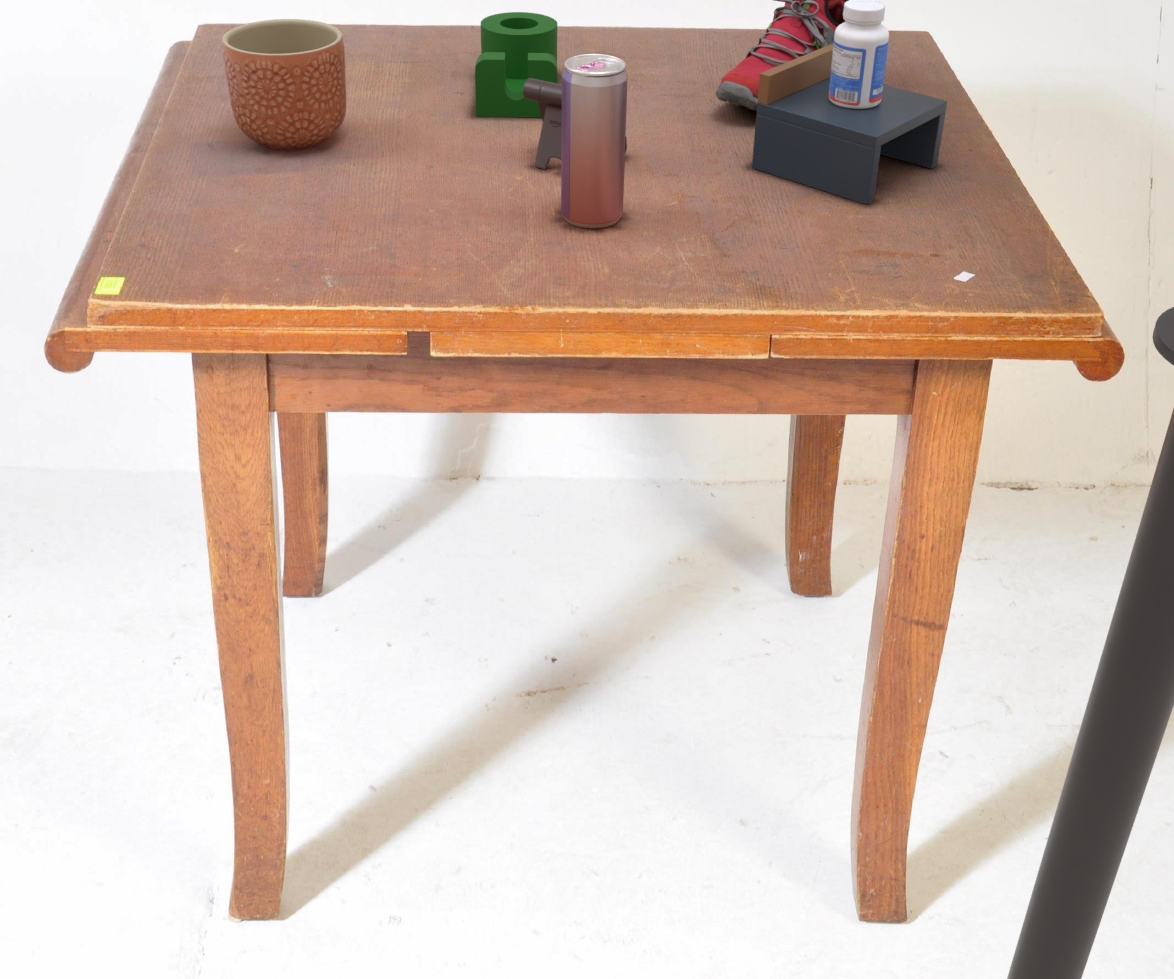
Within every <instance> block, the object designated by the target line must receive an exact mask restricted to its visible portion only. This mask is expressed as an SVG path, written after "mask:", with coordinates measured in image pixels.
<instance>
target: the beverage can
mask: <svg viewBox="0 0 1174 979" xmlns="http://www.w3.org/2000/svg"><path fill="white" fill-rule="evenodd" d="M563 64H564V65H563V67H564V68H563V71H562V74H561V85H562V144H561V161H560V162H561V164H560V212H561V215H562V216H563V218H564V220H565V222H567V223H568V224H569V225H572V226H575V227H578V228H583V229H592V230H593V229H604V228H607V227H611V226H613V225H615V224H616V223H618V221H619V220H620V219H621V217H622V216H623V214H624V193H625V163H626V153H625V139H626V138H627V135H626V134H627V110H628V109H627V106H628V103H627V102H628V80H629V79H628V78H629V76H628V73H627V69H626V68H627V63H626V62H625V60H624V59H622V58H620V57H617V56H615V55H611V54H610V55H609V54H605V53H603V54H602V53H583V54H577V55H573V56H571V57H569V58H567V59H565V61H564V63H563Z"/></svg>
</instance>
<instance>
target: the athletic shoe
mask: <svg viewBox="0 0 1174 979" xmlns="http://www.w3.org/2000/svg"><path fill="white" fill-rule="evenodd" d="M773 1H775V2H781V3H784V5H783V6H779V7H776V8H775V9H774V10H773V17H772V21H771V22H770V23H769V24H768V26H767V28H766V31H765V33H764V34H762V35H761V36H760V37H759V39H758V44H757V45H754V46H751V47H750V48H749V50H748V52H747V54H746V55H745V58H744V59H743V60H741V61H740V62H739V63H738V64H737V65H736V66H735V67H734V68H732V69H731V70H729V71H728V72H727V73H726V74H725V75H724V76H723V77H721V79H720V80H721V81H720V84H719V86H717V88H716V90H715V96H716V98H717V100H719V101H721V102H728V103H729V104H732V105H735V106H743V107H745V108H747V109H749V110H751V111H756V112H757V103H758V102H757V101H758V90H759V79H760V73H762V72H765V71H767V70H770V69H772V68H775V67H777V66H779V65H782V64H784V63H787V62H789V61H792V60H794V59H796V58H799V57H801V56H804V55H806V54H809V53H811V52H813V51H816V50H818V49H821V48H823V47H826V46H828V45H830V44H833V43H834V34H835V30H836V28H837V27H838V26H839V25H840V24H842V23H844V22H845V20H844V18H843V11H844V4H845V2H846V1H849V0H773Z"/></svg>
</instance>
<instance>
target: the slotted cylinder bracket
mask: <svg viewBox="0 0 1174 979" xmlns="http://www.w3.org/2000/svg"><path fill="white" fill-rule="evenodd" d="M480 50H481V51H480V54H479V55H478V57H477V59H476V62H475V68H474V77H475V78H474V80H475V82H474V83H475V117H483V118H485V117H487V118H542V117H541V113H540V109H539V106H538V102H537V101H532V100H527V99H525V97H524V94H523V88H524V84H525V82H526V80H527V79H529V78H533V79H538V80H542V81H547V82H552V83H557V84H558V21H557V20H556V19H554V18H553V17H551V16H549V15H546V14H541V13H535V12H525V11H512V12H511V11H507V12H501V13H496V14H491V15H488V16H486V17H483V19H481V21H480Z"/></svg>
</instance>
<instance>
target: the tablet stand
mask: <svg viewBox="0 0 1174 979" xmlns="http://www.w3.org/2000/svg"><path fill="white" fill-rule="evenodd" d="M523 94H524V97H525V99H527V100H532V101H537V102H538V106H539V109H540V113H541V117H540V118H541V122H542V125H541V130H540V134H539V139H538V140H539V141H538V145H537V151H536V155H535V160H534V166H535V167H536V168H538V169H541V170H547V168H548V165H549V162H550V160H551V159H555V160H556V159H558V160H561V144H562V83H558V82H557V83H552V82H547V81H542V80H538V79H533V78H529V79H527V80H526V82H525V84H524V88H523ZM627 141H628V140H627V137H626V139H625V154H626V153H627V149H628V144H627V143H628V142H627Z"/></svg>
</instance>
